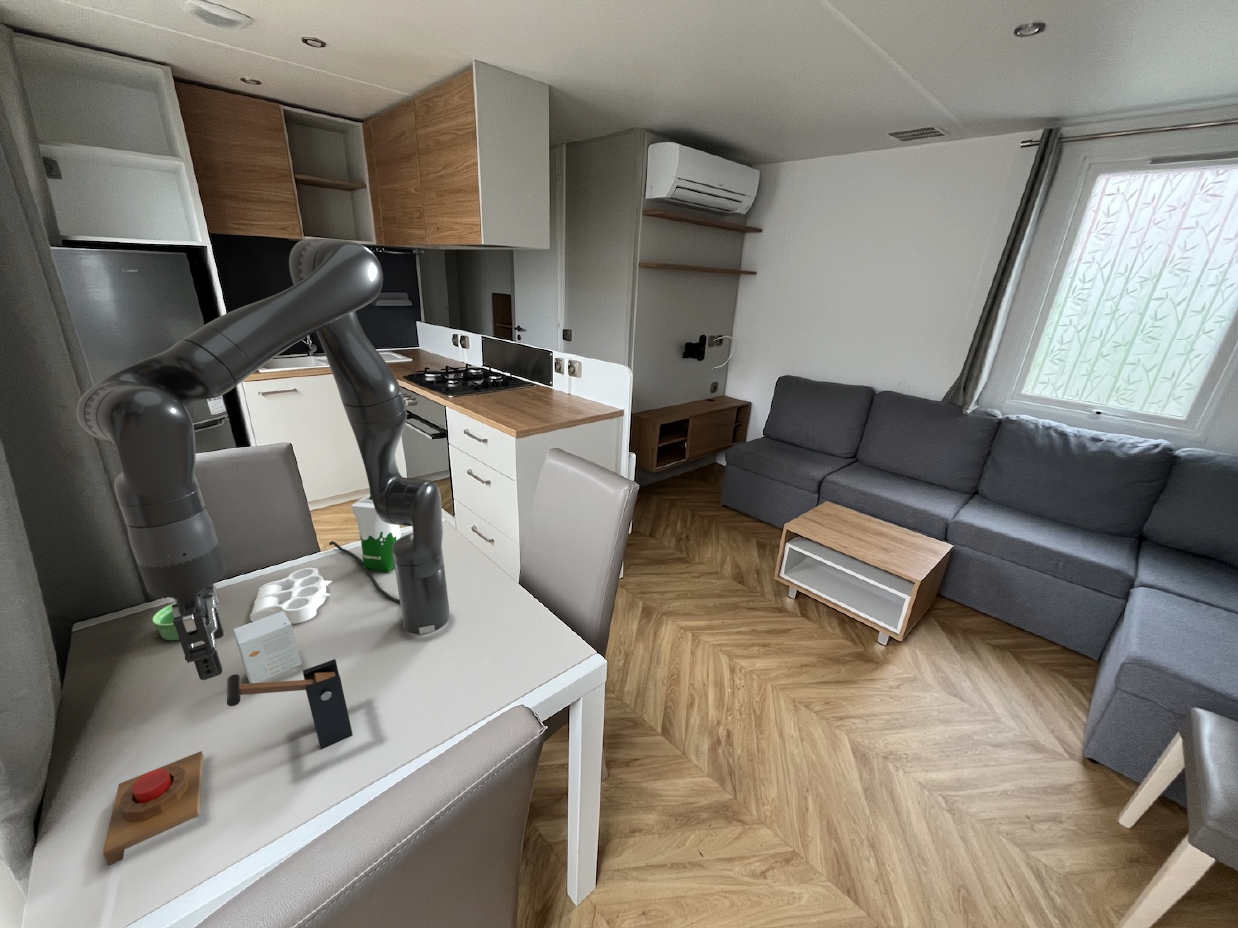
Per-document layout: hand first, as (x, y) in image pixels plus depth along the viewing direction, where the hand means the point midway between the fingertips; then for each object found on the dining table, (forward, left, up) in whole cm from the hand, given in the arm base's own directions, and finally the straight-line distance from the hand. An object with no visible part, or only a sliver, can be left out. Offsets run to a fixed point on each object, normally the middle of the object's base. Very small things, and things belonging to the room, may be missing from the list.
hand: (213, 655), depth 65 cm
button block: (-1, -10, -22) cm, 24 cm away
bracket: (0, +11, -22) cm, 24 cm away
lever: (0, +6, -10) cm, 11 cm away
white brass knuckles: (-45, +9, -22) cm, 51 cm away
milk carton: (-51, +29, -22) cm, 63 cm away
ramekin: (-47, -10, -22) cm, 53 cm away
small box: (-22, +4, -22) cm, 31 cm away
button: (-1, -10, -18) cm, 21 cm away
